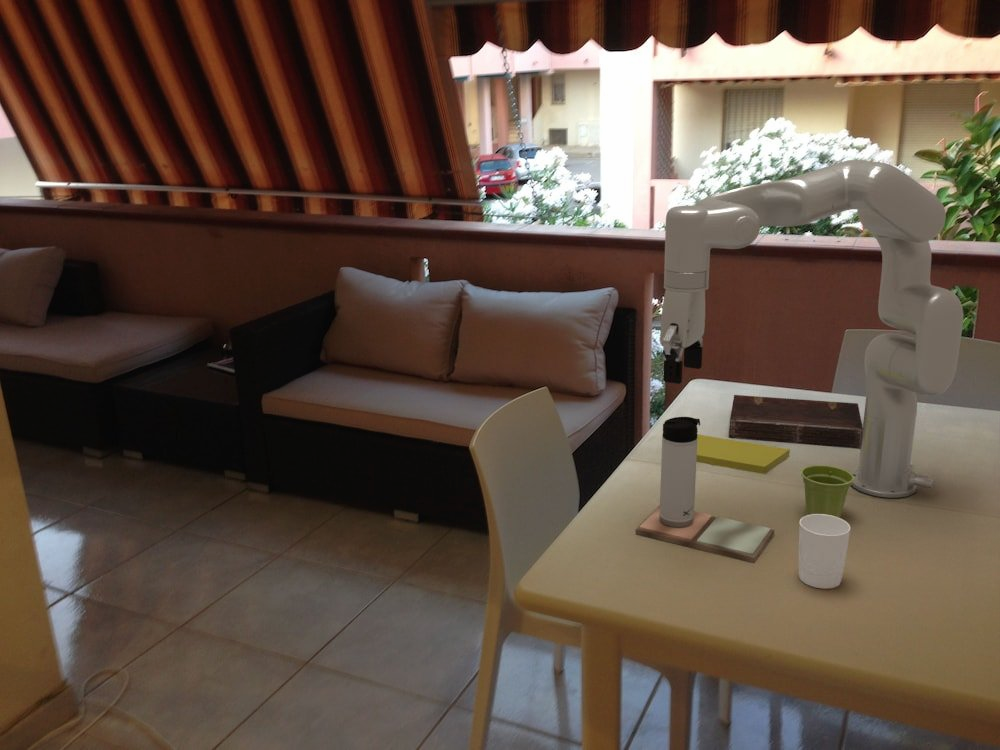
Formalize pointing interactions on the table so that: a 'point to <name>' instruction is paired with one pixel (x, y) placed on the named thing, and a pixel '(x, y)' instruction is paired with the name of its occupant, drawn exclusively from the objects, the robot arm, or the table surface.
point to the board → (711, 535)
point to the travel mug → (678, 471)
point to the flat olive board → (739, 454)
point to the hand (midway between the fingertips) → (682, 374)
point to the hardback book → (796, 421)
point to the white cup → (822, 550)
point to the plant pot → (825, 489)
